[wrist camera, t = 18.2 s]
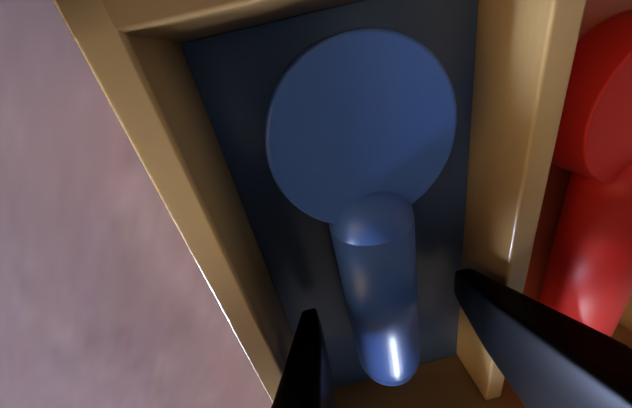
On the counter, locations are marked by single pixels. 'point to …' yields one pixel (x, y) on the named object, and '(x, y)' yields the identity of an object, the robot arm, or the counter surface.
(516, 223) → the cutlery tray
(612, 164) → the red spoon
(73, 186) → the counter surface
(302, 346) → the robot arm
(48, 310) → the counter surface
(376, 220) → the blue spoon
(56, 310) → the counter surface
